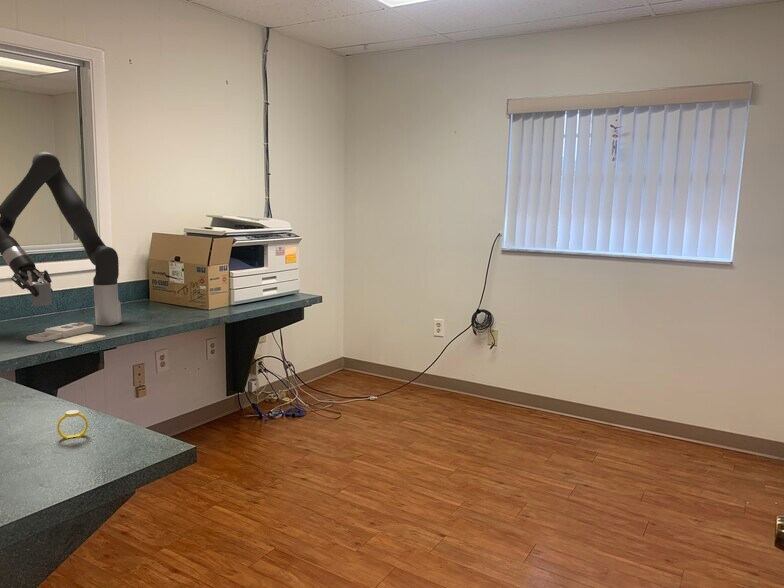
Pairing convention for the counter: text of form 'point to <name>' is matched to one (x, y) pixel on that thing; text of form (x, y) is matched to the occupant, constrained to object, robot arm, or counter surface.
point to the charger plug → (42, 294)
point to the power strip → (61, 332)
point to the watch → (72, 414)
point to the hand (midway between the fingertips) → (44, 294)
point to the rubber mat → (80, 339)
